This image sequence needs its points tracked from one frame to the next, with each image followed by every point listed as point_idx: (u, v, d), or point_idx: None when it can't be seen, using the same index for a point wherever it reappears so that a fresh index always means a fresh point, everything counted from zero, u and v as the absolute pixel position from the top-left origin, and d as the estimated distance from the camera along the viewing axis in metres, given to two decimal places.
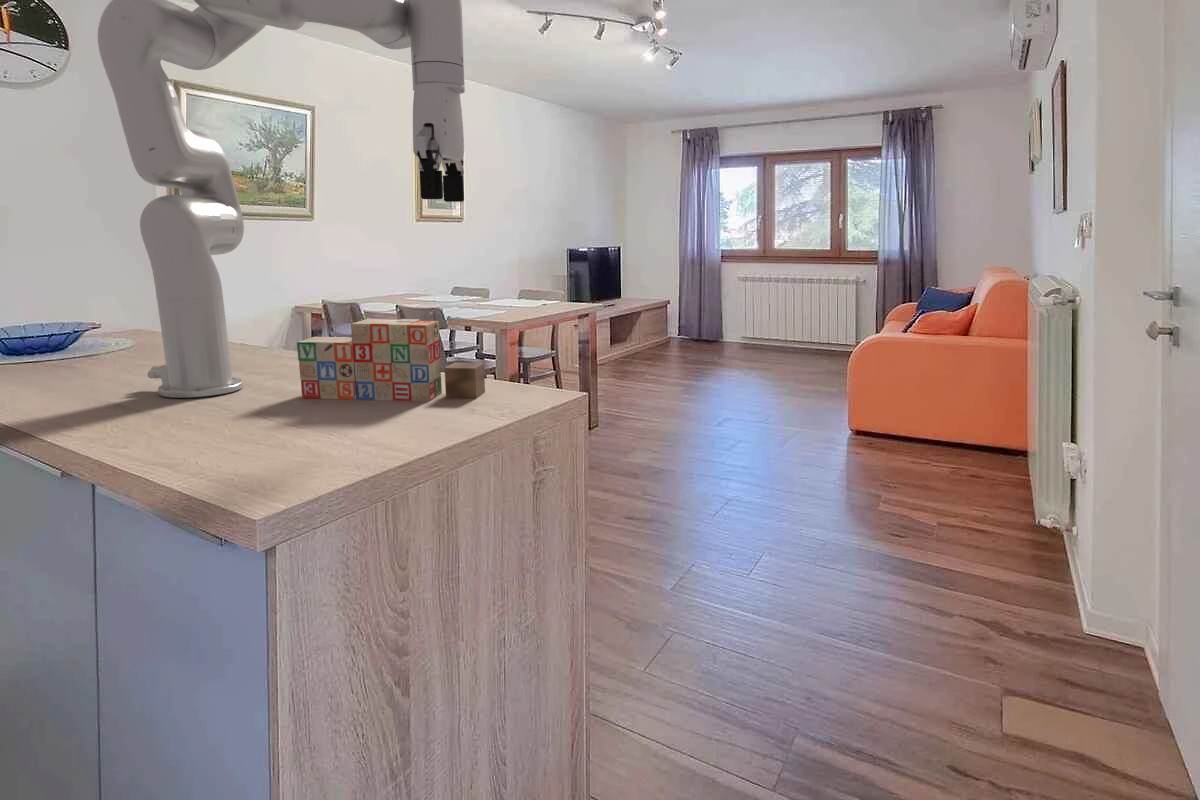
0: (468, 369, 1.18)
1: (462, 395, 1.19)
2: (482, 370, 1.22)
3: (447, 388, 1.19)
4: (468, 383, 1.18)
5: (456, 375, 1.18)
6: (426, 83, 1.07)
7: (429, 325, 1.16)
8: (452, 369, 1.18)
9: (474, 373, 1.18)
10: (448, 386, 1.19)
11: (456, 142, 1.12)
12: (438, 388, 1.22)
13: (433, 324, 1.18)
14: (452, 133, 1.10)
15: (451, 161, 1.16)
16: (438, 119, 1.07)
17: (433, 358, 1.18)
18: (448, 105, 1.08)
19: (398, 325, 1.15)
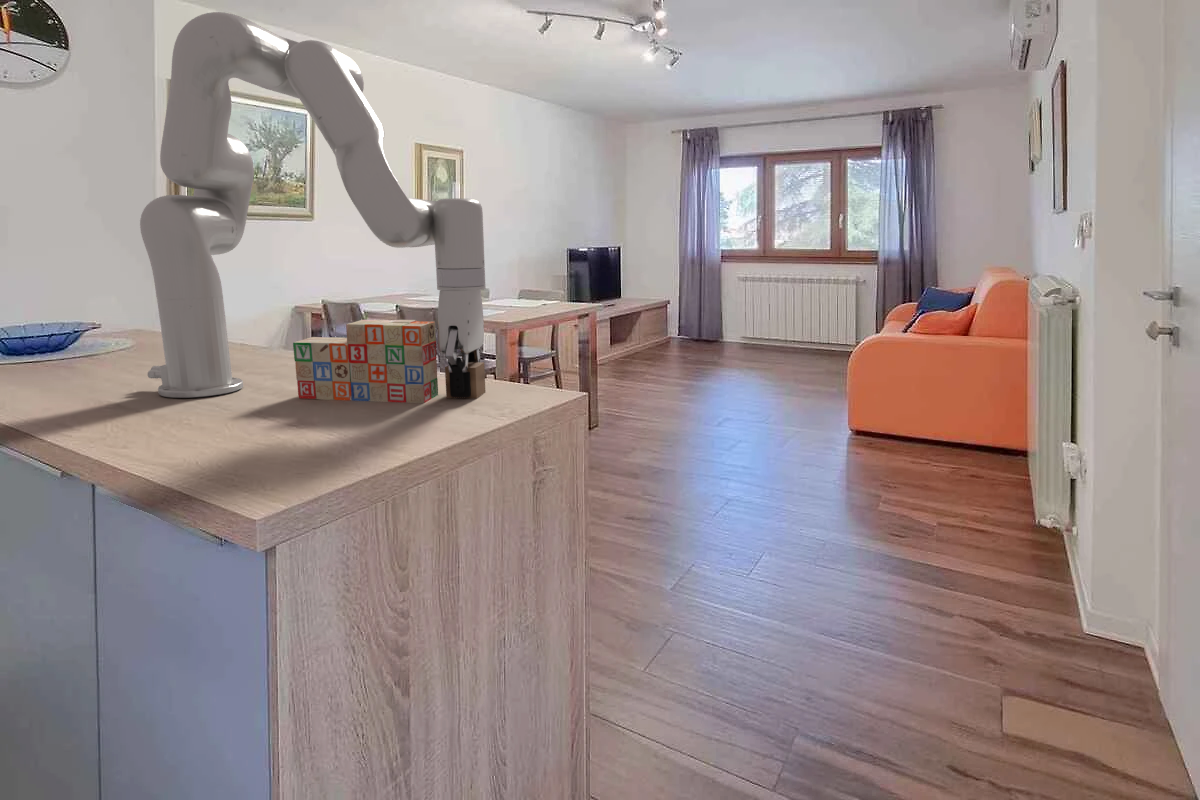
0: (468, 368, 1.18)
1: None
2: (482, 369, 1.22)
3: (447, 387, 1.19)
4: None
5: None
6: (450, 288, 1.14)
7: (424, 326, 1.15)
8: None
9: (474, 372, 1.18)
10: (448, 385, 1.19)
11: (478, 334, 1.19)
12: (434, 389, 1.20)
13: (428, 325, 1.17)
14: (474, 329, 1.17)
15: None
16: (462, 322, 1.14)
17: (428, 359, 1.17)
18: (471, 306, 1.15)
19: (393, 326, 1.14)
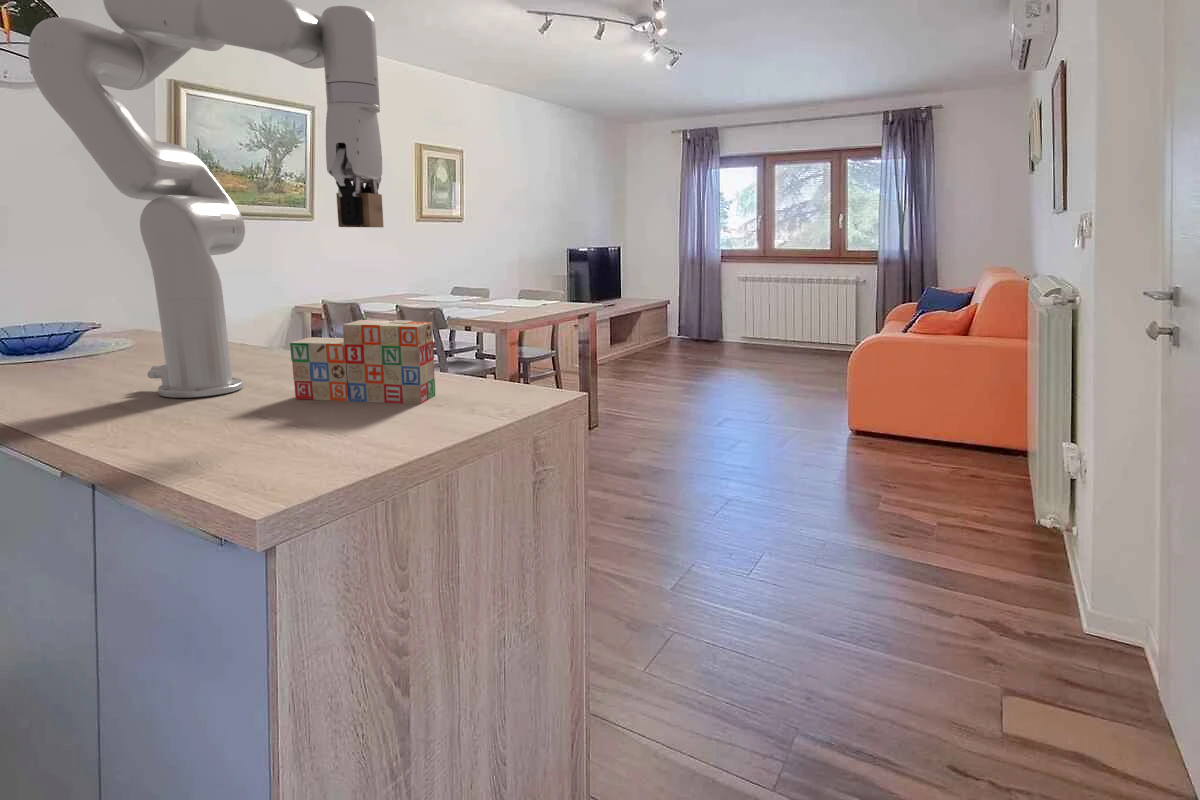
0: (361, 194, 1.12)
1: None
2: (379, 201, 1.16)
3: (339, 215, 1.13)
4: None
5: None
6: (338, 103, 1.08)
7: (421, 326, 1.14)
8: None
9: (367, 198, 1.12)
10: (340, 213, 1.13)
11: (372, 161, 1.13)
12: (431, 390, 1.20)
13: (425, 325, 1.16)
14: (367, 152, 1.12)
15: None
16: (351, 139, 1.08)
17: (425, 360, 1.17)
18: (361, 124, 1.09)
19: (389, 326, 1.14)
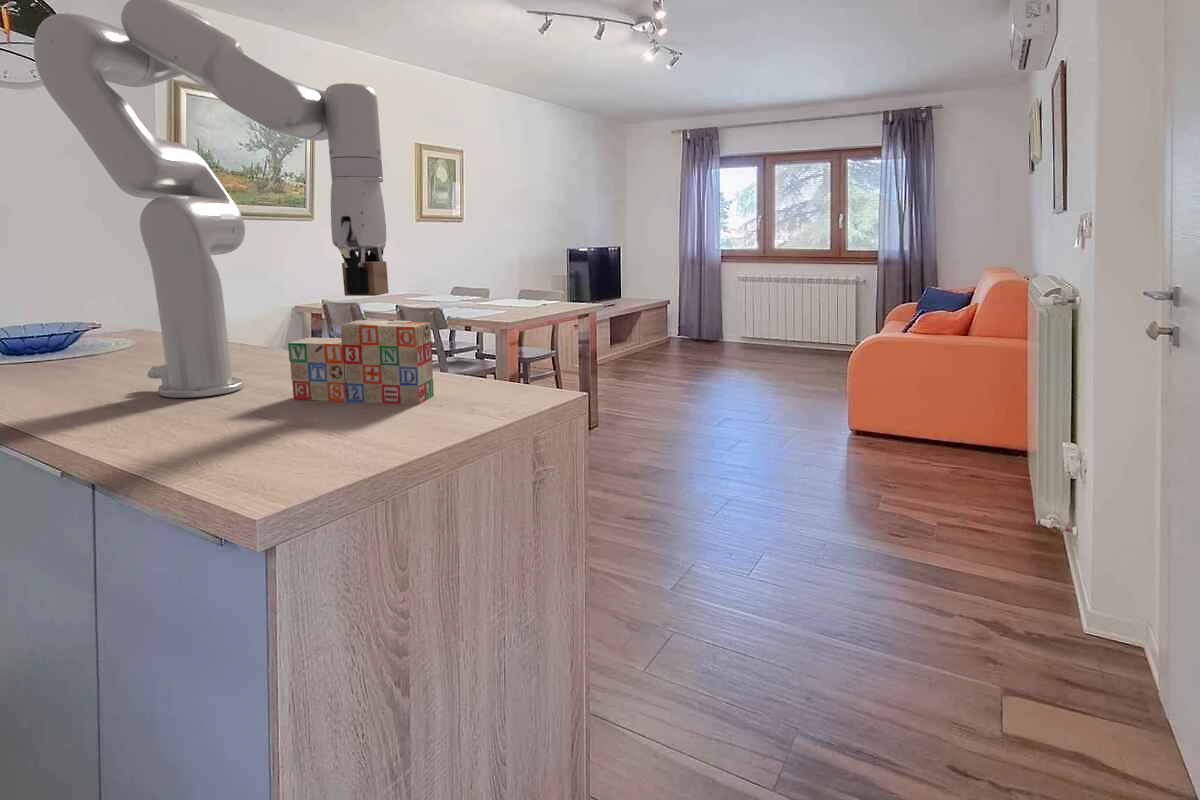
0: (366, 264, 1.14)
1: None
2: (384, 268, 1.18)
3: (345, 284, 1.15)
4: None
5: None
6: (343, 177, 1.11)
7: (418, 327, 1.14)
8: None
9: (372, 267, 1.14)
10: (346, 282, 1.15)
11: (376, 230, 1.16)
12: (429, 391, 1.19)
13: (423, 326, 1.16)
14: (371, 223, 1.14)
15: None
16: (355, 212, 1.10)
17: (423, 360, 1.16)
18: (365, 197, 1.12)
19: (387, 327, 1.13)
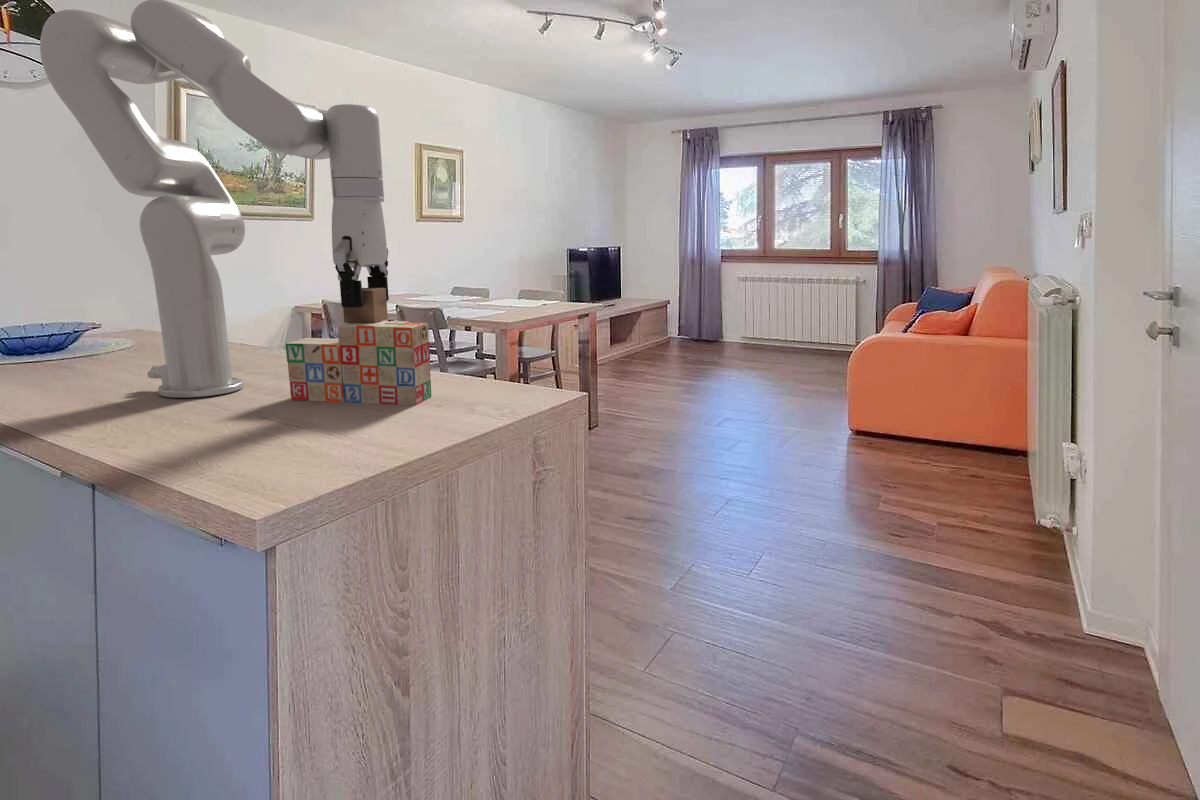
0: (365, 291, 1.15)
1: (361, 319, 1.16)
2: (383, 295, 1.19)
3: (345, 311, 1.16)
4: (366, 306, 1.16)
5: None
6: (344, 197, 1.11)
7: (416, 327, 1.13)
8: None
9: (371, 295, 1.15)
10: (346, 309, 1.16)
11: (377, 249, 1.16)
12: (427, 392, 1.19)
13: (421, 326, 1.15)
14: (372, 242, 1.14)
15: None
16: (356, 232, 1.11)
17: (420, 361, 1.16)
18: (366, 217, 1.12)
19: (384, 327, 1.13)
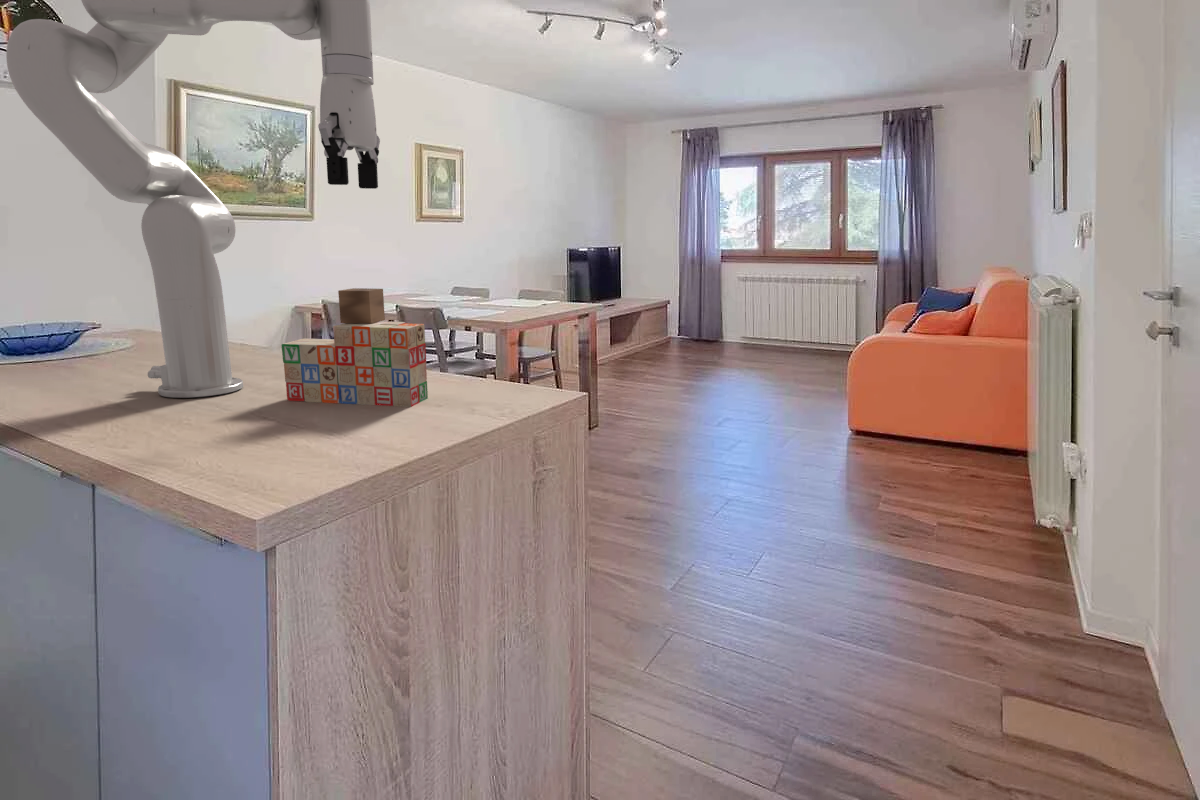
0: (362, 292, 1.14)
1: (357, 319, 1.16)
2: (380, 295, 1.18)
3: (341, 312, 1.16)
4: (362, 307, 1.15)
5: (350, 298, 1.15)
6: (333, 74, 1.13)
7: (411, 328, 1.12)
8: (346, 292, 1.15)
9: (368, 296, 1.14)
10: (342, 310, 1.16)
11: (365, 131, 1.18)
12: (423, 393, 1.18)
13: (417, 327, 1.14)
14: (360, 122, 1.16)
15: (364, 149, 1.22)
16: (343, 108, 1.13)
17: (416, 362, 1.15)
18: (354, 95, 1.14)
19: (379, 328, 1.12)
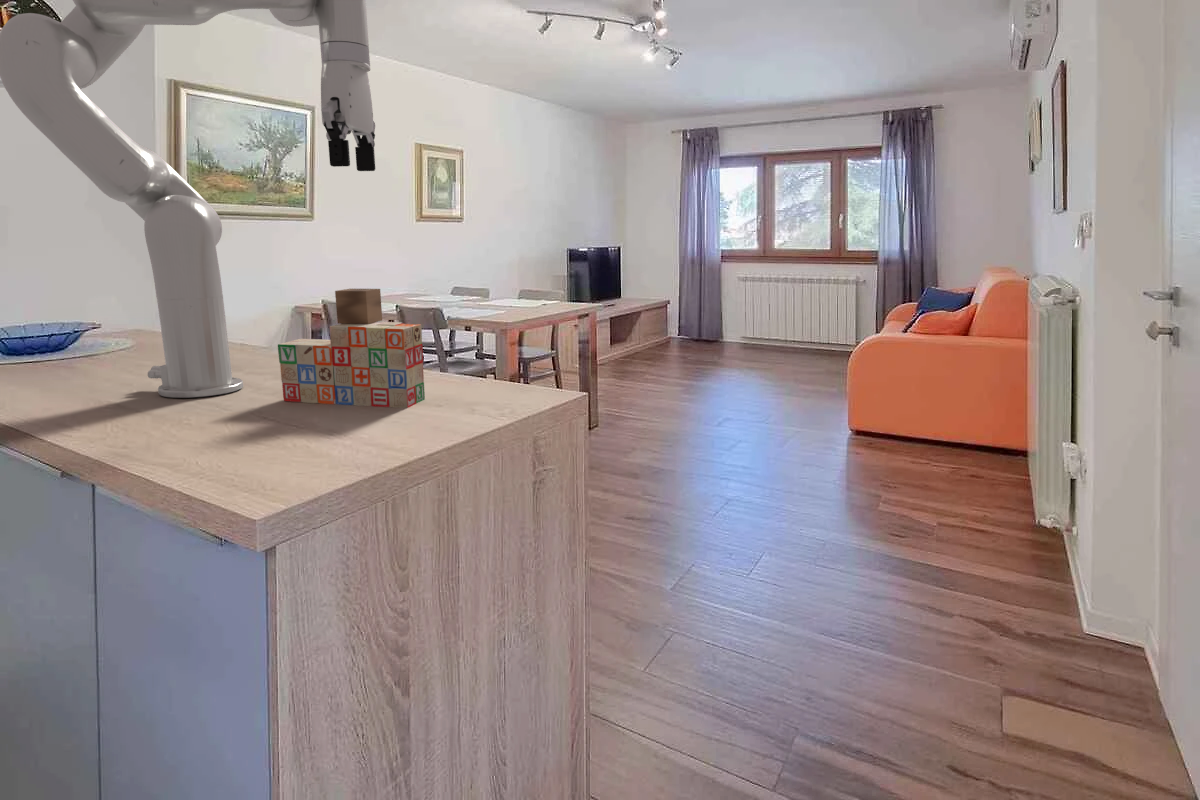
0: (359, 292, 1.14)
1: (354, 320, 1.15)
2: (377, 296, 1.18)
3: (338, 312, 1.15)
4: (359, 307, 1.14)
5: (346, 298, 1.14)
6: (332, 61, 1.19)
7: (407, 329, 1.12)
8: (343, 292, 1.14)
9: (365, 296, 1.14)
10: (339, 310, 1.15)
11: (363, 115, 1.24)
12: (420, 394, 1.17)
13: (413, 328, 1.14)
14: (358, 107, 1.22)
15: (361, 133, 1.28)
16: (343, 93, 1.19)
17: (412, 363, 1.14)
18: (353, 81, 1.20)
19: (376, 328, 1.11)
